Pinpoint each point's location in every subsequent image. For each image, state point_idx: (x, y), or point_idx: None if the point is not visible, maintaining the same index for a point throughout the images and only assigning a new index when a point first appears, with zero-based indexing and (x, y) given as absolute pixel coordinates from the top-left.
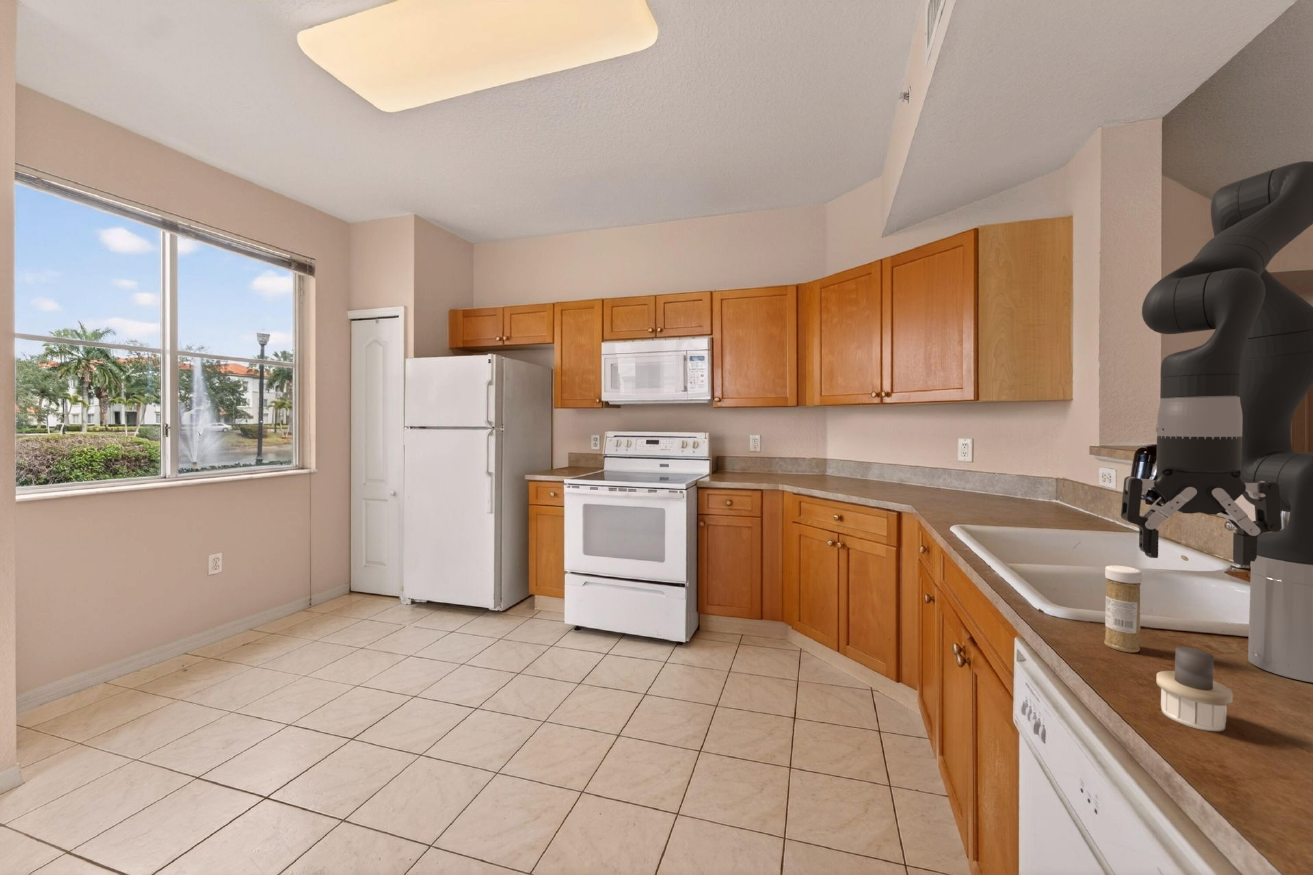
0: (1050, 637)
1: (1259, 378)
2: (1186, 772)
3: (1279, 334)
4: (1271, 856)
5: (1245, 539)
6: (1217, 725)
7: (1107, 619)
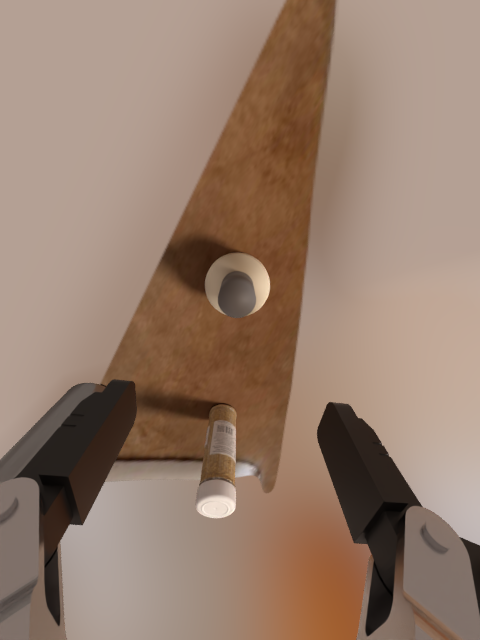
0: (280, 418)
1: None
2: (312, 143)
3: None
4: None
5: (71, 460)
6: None
7: (235, 436)
